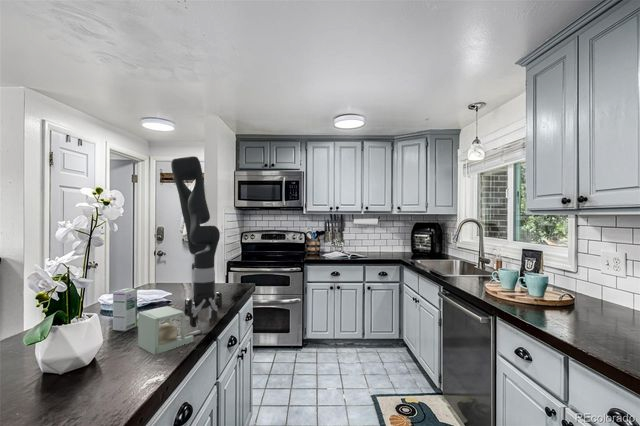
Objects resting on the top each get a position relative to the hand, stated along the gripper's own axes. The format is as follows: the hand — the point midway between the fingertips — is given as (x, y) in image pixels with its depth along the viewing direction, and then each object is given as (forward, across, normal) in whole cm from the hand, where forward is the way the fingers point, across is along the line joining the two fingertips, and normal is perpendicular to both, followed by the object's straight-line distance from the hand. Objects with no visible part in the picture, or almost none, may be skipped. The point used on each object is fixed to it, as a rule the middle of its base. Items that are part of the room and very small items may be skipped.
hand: (203, 323), depth 118 cm
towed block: (+3, +8, 0) cm, 9 cm away
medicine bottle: (+3, -9, -15) cm, 18 cm away
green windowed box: (+3, +14, 0) cm, 14 cm away
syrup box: (+3, +16, -27) cm, 32 cm away
